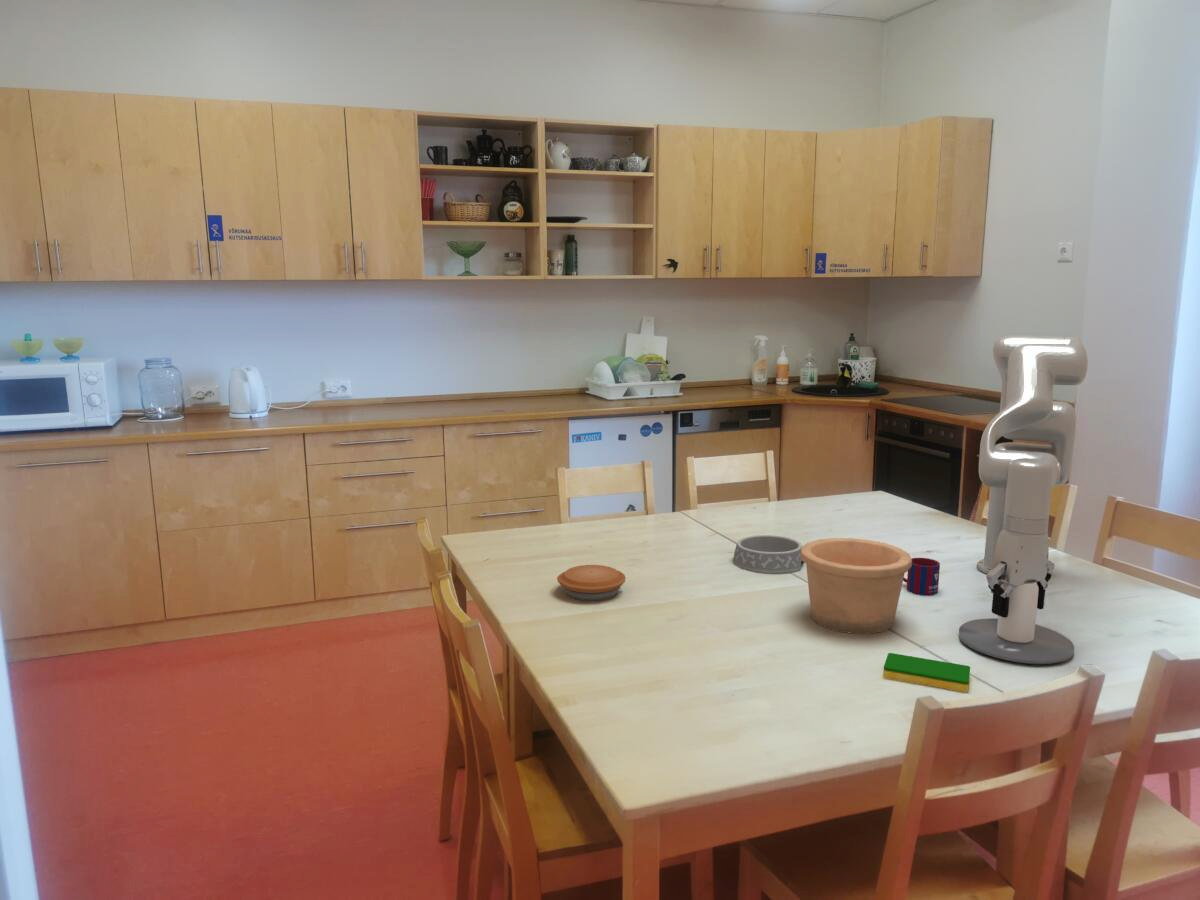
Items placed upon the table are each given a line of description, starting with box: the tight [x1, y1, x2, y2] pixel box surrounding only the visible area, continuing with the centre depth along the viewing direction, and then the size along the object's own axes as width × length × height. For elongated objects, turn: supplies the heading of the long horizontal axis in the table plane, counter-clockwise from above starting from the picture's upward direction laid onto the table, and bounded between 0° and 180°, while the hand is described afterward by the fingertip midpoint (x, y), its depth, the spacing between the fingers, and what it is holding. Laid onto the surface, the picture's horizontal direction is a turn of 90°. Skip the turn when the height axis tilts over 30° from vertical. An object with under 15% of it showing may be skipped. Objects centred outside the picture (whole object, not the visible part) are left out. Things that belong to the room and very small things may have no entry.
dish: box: [958, 617, 1075, 665], centre depth 165 cm, size 20×20×1 cm
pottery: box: [801, 537, 912, 634], centre depth 177 cm, size 22×22×14 cm
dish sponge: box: [882, 652, 971, 693], centre depth 151 cm, size 7×14×2 cm, turn 65°
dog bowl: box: [732, 534, 803, 575], centre depth 215 cm, size 17×18×5 cm
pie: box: [556, 564, 626, 602], centre depth 194 cm, size 16×16×5 cm
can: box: [997, 578, 1039, 644], centre depth 164 cm, size 6×6×12 cm
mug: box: [903, 557, 941, 596], centre depth 196 cm, size 7×10×7 cm
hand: (1017, 611), depth 164 cm, fingers open, 9 cm apart
